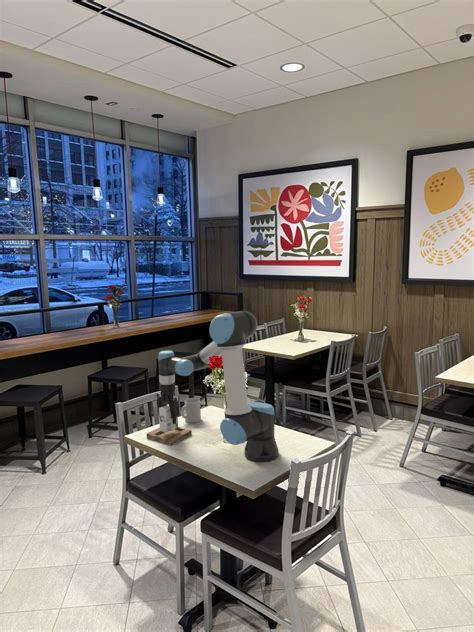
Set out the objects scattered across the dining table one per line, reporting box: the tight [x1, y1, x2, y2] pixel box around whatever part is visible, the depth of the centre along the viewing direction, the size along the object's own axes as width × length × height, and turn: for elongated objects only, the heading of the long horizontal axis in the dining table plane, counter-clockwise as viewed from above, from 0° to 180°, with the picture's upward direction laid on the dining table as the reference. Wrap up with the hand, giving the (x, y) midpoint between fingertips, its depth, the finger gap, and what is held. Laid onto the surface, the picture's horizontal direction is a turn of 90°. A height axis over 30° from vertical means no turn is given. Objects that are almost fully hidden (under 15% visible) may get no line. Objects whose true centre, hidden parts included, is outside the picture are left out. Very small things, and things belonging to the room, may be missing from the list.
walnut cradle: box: [146, 426, 193, 446], centre depth 224 cm, size 16×15×2 cm
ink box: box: [158, 403, 179, 432], centre depth 223 cm, size 8×5×12 cm, turn 145°
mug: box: [180, 397, 202, 424], centre depth 244 cm, size 12×8×11 cm
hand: (169, 428), depth 224 cm, fingers closed on ink box, 5 cm apart
